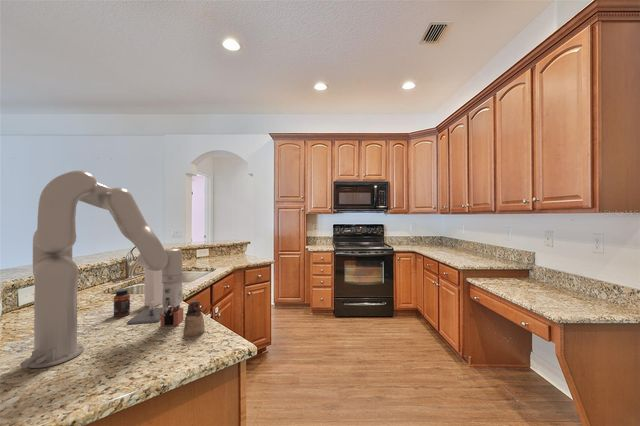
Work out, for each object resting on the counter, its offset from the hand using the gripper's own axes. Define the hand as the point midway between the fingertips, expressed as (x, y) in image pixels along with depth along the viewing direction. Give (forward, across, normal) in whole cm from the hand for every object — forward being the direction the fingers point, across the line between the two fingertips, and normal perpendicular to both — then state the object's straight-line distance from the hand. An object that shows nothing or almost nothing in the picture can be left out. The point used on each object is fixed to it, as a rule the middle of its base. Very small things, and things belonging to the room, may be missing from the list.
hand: (172, 320), depth 108 cm
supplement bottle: (+1, +14, +26) cm, 30 cm away
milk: (+1, +27, +18) cm, 32 cm away
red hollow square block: (+1, 0, 0) cm, 1 cm away
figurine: (+1, -12, -12) cm, 17 cm away
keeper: (+1, +10, +12) cm, 16 cm away
